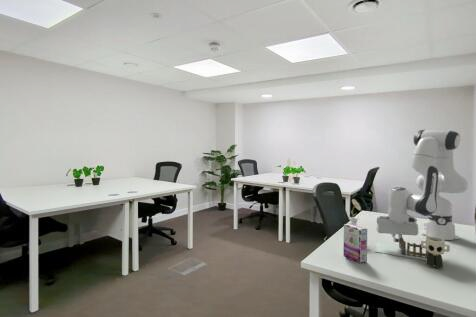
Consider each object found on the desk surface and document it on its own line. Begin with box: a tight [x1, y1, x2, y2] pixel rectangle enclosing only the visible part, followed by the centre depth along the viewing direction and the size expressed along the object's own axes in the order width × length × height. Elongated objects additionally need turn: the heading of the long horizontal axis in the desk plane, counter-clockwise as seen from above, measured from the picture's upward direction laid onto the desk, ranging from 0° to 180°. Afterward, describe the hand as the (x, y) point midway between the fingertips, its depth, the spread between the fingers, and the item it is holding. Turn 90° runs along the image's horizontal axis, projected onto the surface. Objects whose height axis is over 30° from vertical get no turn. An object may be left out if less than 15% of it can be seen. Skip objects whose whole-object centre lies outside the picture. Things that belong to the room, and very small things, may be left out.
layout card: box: [375, 242, 427, 261], centre depth 145 cm, size 15×25×1 cm, turn 62°
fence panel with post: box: [402, 240, 429, 258], centre depth 138 cm, size 2×12×7 cm, turn 62°
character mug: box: [420, 236, 451, 269], centre depth 126 cm, size 11×7×13 cm, turn 57°
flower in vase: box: [342, 198, 362, 239], centre depth 161 cm, size 13×11×25 cm
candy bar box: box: [343, 223, 368, 264], centre depth 135 cm, size 11×5×16 cm, turn 21°
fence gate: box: [398, 236, 405, 251], centre depth 146 cm, size 1×10×6 cm, turn 157°
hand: (396, 241), depth 149 cm, fingers closed
